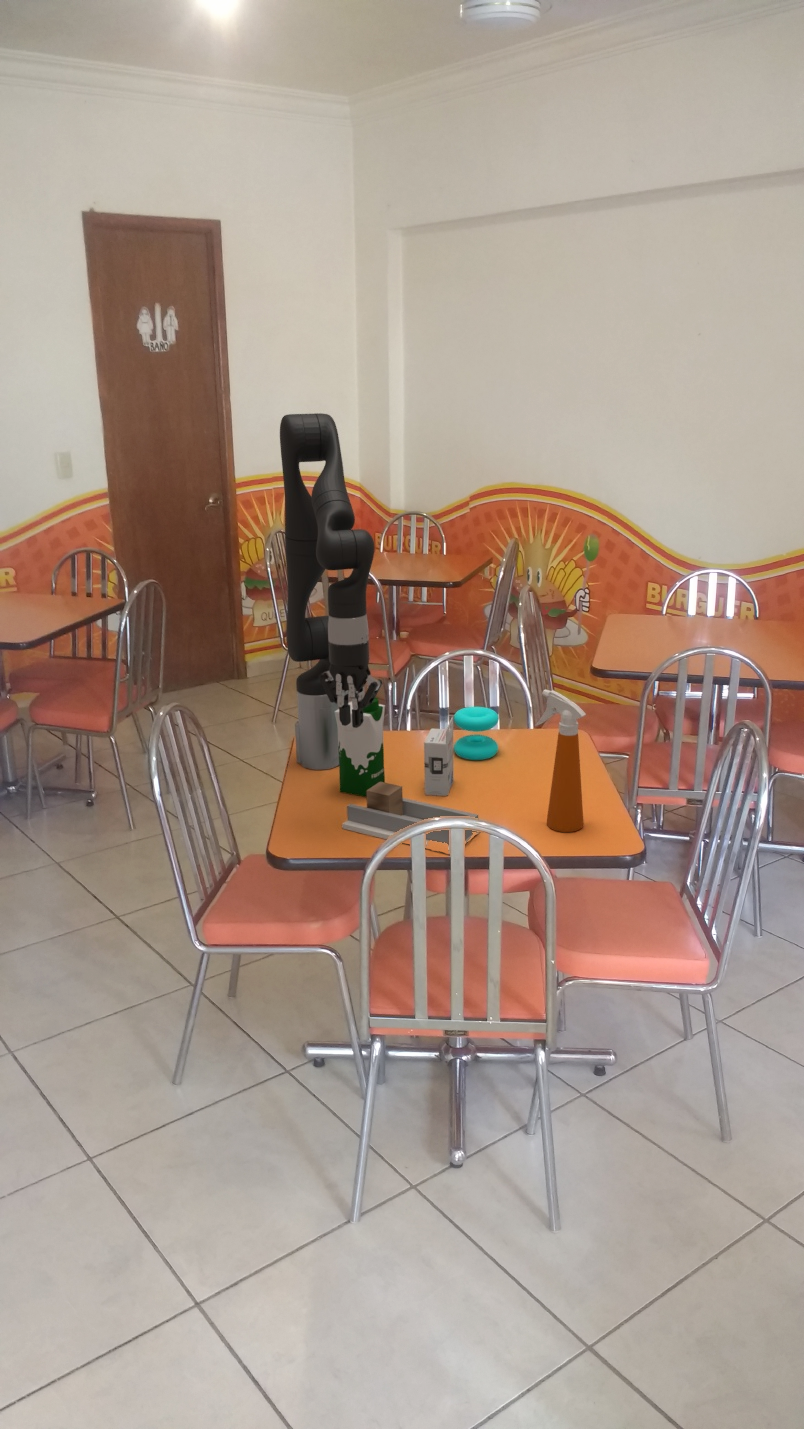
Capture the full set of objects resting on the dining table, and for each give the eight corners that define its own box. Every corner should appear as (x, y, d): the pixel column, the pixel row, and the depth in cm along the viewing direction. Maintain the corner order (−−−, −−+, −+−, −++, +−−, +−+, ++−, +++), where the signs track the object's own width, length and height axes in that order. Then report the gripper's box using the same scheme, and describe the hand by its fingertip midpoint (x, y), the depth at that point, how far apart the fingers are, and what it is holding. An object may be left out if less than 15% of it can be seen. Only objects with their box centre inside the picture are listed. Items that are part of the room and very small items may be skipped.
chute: (342, 828, 199) (341, 809, 198) (375, 805, 209) (375, 787, 208) (452, 855, 188) (452, 835, 186) (482, 830, 197) (482, 811, 196)
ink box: (431, 779, 221) (430, 714, 217) (454, 780, 221) (453, 715, 216) (424, 795, 214) (423, 728, 209) (447, 796, 213) (447, 729, 208)
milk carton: (371, 800, 212) (368, 707, 205) (333, 793, 216) (329, 701, 209) (391, 784, 219) (388, 694, 213) (353, 777, 223) (350, 689, 216)
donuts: (444, 713, 231) (471, 702, 238) (445, 755, 235) (471, 742, 242) (480, 722, 225) (507, 710, 232) (480, 765, 228) (506, 752, 235)
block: (367, 819, 200) (366, 790, 198) (381, 809, 204) (380, 781, 202) (389, 824, 198) (388, 795, 196) (402, 814, 202) (402, 786, 200)
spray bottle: (542, 809, 206) (546, 682, 197) (590, 823, 200) (596, 693, 191) (523, 821, 201) (525, 692, 192) (571, 836, 194) (576, 703, 186)
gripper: (306, 638, 193) (310, 725, 199) (369, 647, 186) (371, 737, 192) (329, 629, 199) (332, 714, 205) (390, 637, 192) (392, 725, 198)
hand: (351, 725), depth 198 cm, fingers closed
